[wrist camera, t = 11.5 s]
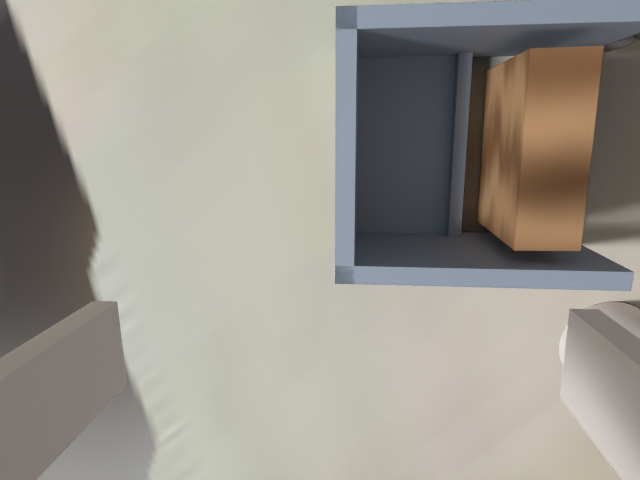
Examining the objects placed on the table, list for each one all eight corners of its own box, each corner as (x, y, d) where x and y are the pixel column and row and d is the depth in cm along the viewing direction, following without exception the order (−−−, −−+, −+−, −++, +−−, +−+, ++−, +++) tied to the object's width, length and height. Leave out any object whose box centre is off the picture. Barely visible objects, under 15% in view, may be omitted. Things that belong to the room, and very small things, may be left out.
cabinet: (577, 247, 38) (659, 291, 28) (343, 243, 40) (335, 283, 30) (604, 34, 35) (710, -10, 24) (344, 40, 36) (335, 2, 26)
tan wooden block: (486, 71, 36) (530, 48, 26) (552, 69, 36) (622, 45, 26) (477, 221, 39) (514, 250, 29) (538, 221, 38) (597, 251, 29)
